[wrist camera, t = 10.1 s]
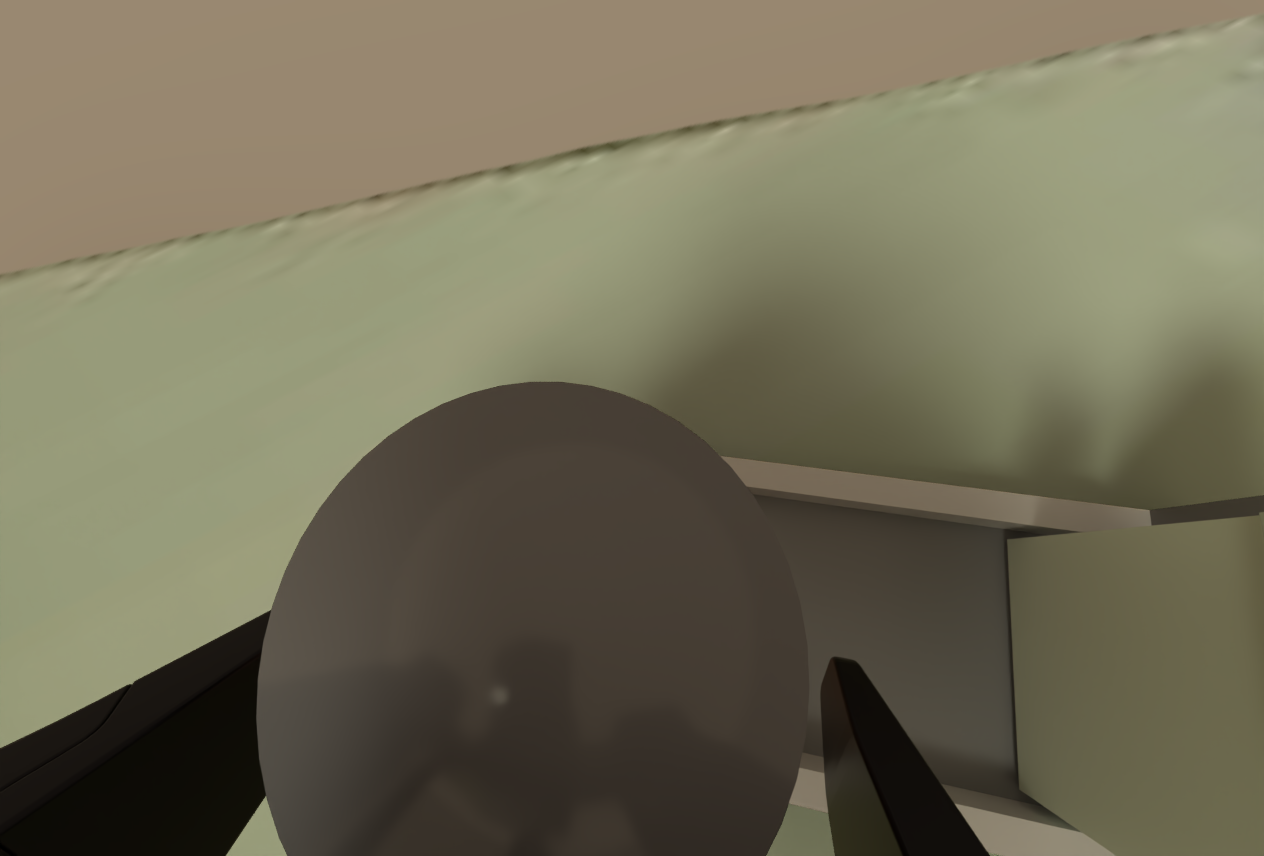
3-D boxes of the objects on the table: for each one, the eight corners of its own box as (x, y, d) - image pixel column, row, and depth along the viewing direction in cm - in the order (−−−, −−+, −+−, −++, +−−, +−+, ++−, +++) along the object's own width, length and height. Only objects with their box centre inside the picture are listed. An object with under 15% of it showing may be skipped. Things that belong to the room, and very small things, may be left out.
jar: (755, 663, 17) (921, 920, 4) (577, 713, 17) (261, 1090, 5) (696, 486, 19) (698, 321, 6) (539, 533, 19) (252, 462, 7)
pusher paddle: (1045, 544, 16) (1411, 519, 8) (1063, 799, 14) (1577, 1121, 6) (1001, 538, 17) (1311, 507, 8) (1011, 787, 15) (1438, 1083, 6)
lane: (1197, 529, 17) (1954, 469, 7) (1251, 886, 14) (2692, 1712, 4) (544, 444, 21) (401, 327, 11) (486, 707, 18) (223, 880, 8)
